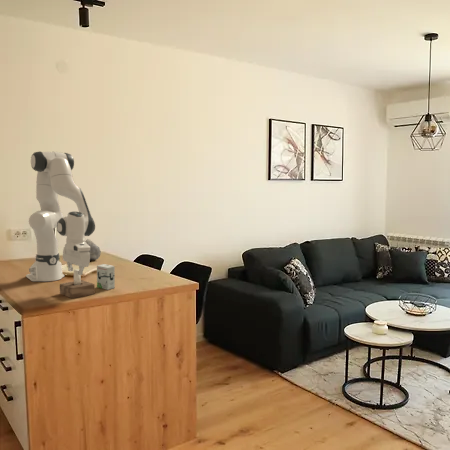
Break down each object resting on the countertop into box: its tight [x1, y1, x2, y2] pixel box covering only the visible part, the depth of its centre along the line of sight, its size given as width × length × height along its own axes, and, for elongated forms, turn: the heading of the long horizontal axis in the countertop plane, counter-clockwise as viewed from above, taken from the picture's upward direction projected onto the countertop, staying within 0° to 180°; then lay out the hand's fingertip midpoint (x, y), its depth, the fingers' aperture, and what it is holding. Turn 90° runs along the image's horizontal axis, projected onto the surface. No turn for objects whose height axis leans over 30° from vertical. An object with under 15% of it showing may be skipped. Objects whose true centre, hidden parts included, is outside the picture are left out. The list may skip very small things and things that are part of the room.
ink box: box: [96, 263, 116, 291], centre depth 240 cm, size 9×5×12 cm, turn 56°
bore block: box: [59, 279, 96, 299], centre depth 228 cm, size 12×12×5 cm
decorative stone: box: [85, 238, 102, 261], centre depth 312 cm, size 15×10×15 cm
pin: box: [73, 268, 82, 286], centre depth 227 cm, size 3×3×10 cm
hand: (75, 272), depth 227 cm, fingers open, 8 cm apart
